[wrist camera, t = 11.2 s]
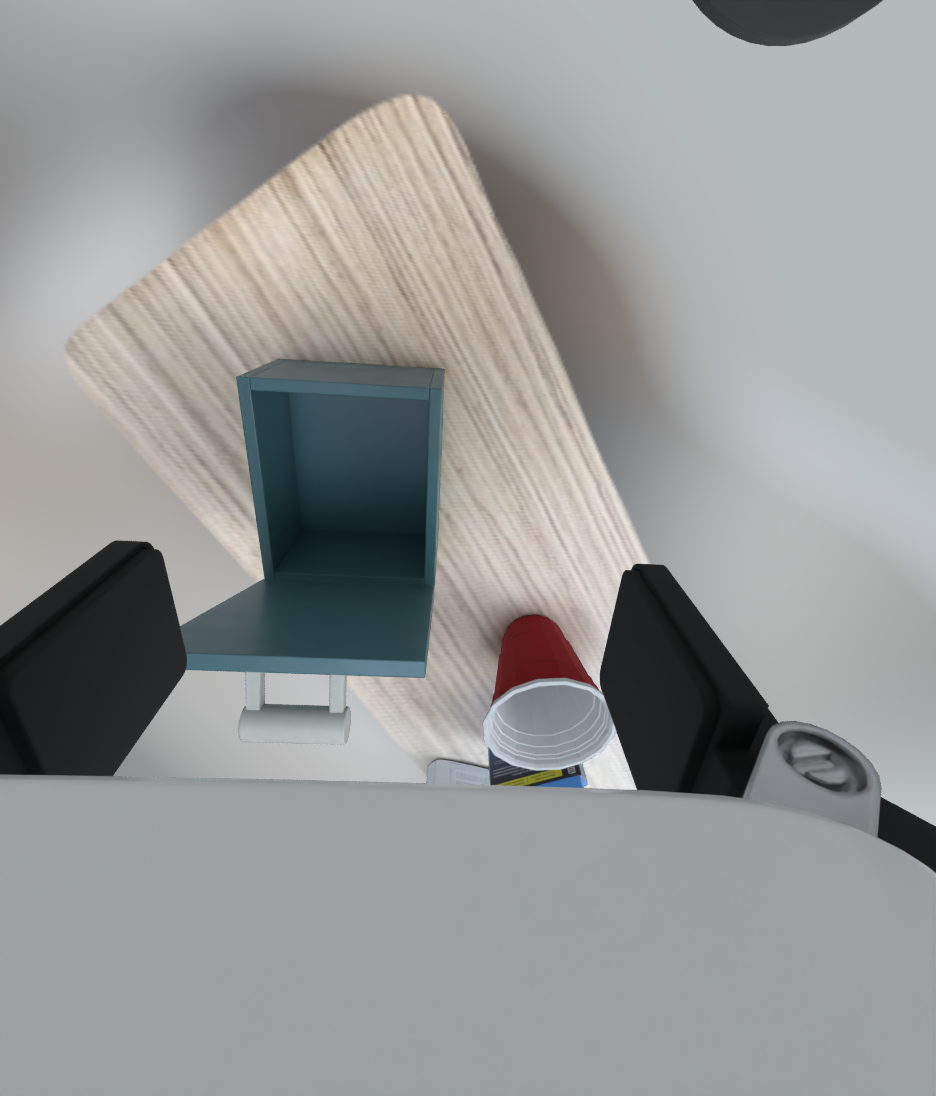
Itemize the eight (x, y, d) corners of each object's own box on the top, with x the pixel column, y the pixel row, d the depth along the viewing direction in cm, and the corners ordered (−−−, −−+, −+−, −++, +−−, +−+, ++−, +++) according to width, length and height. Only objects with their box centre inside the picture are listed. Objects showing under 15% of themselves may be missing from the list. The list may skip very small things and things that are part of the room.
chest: (277, 358, 39) (235, 376, 31) (444, 368, 39) (441, 388, 32) (295, 532, 45) (264, 581, 38) (438, 539, 46) (434, 588, 38)
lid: (135, 651, 22) (139, 762, 23) (425, 661, 23) (421, 769, 24) (262, 579, 37) (262, 647, 38) (434, 586, 38) (431, 653, 39)
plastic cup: (469, 675, 53) (473, 773, 43) (486, 587, 48) (495, 674, 38) (571, 685, 54) (599, 784, 43) (597, 600, 49) (636, 688, 39)
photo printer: (421, 778, 60) (414, 888, 49) (432, 753, 58) (426, 862, 47) (504, 794, 62) (514, 905, 51) (516, 771, 60) (529, 880, 49)
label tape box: (496, 743, 58) (506, 850, 47) (484, 718, 56) (491, 823, 45) (571, 721, 56) (599, 826, 46) (562, 696, 55) (588, 798, 44)
